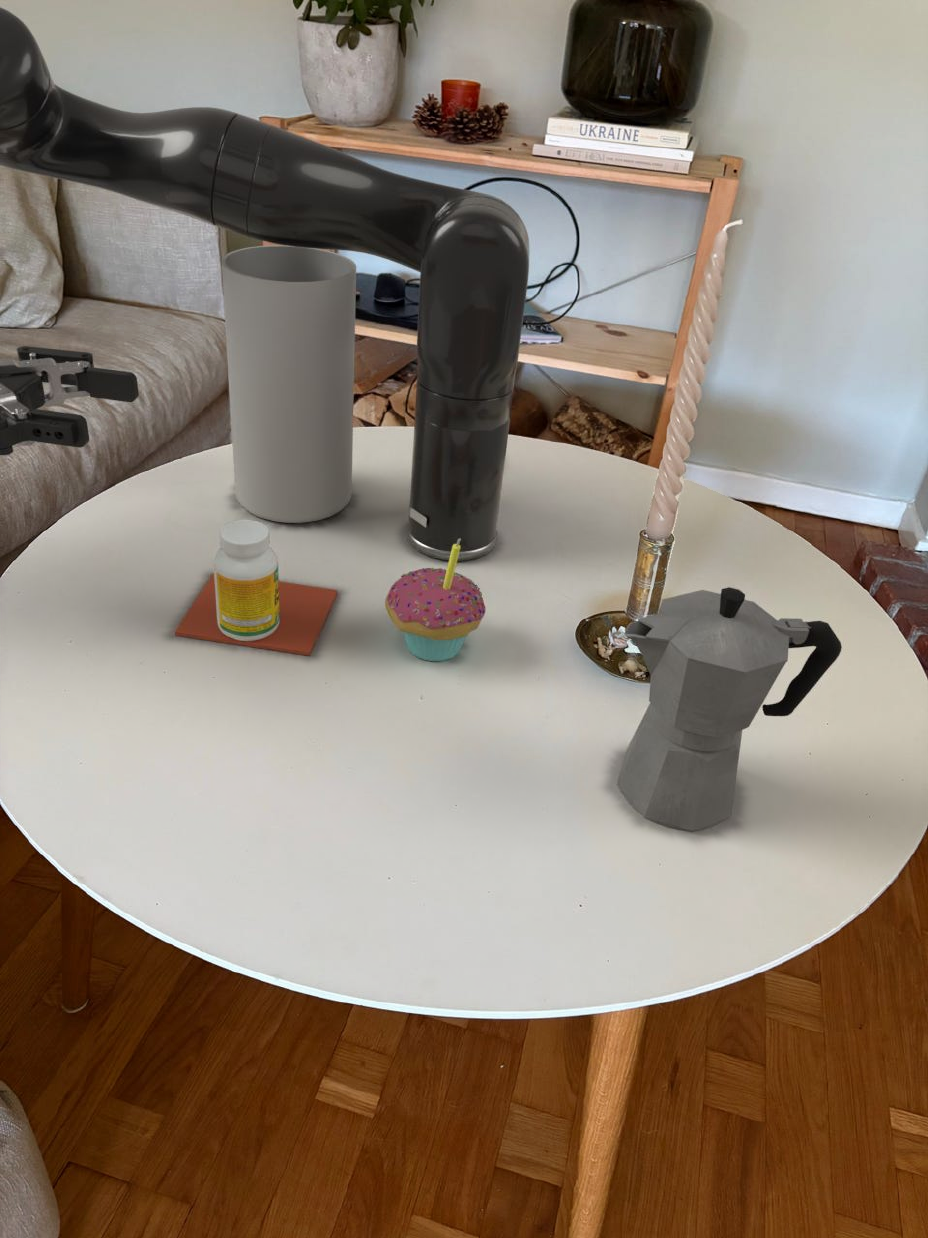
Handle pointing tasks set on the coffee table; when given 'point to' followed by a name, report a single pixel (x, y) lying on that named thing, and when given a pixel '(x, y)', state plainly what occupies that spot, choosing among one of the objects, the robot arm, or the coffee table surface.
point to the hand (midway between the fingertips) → (112, 408)
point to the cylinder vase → (290, 379)
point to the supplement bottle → (246, 581)
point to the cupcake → (435, 609)
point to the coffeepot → (709, 699)
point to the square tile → (297, 618)
